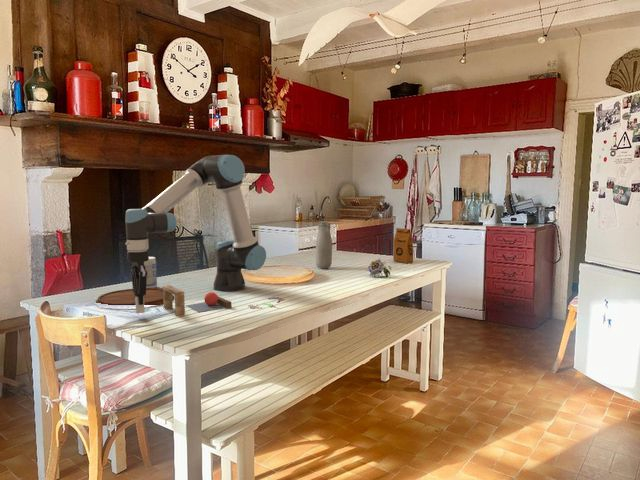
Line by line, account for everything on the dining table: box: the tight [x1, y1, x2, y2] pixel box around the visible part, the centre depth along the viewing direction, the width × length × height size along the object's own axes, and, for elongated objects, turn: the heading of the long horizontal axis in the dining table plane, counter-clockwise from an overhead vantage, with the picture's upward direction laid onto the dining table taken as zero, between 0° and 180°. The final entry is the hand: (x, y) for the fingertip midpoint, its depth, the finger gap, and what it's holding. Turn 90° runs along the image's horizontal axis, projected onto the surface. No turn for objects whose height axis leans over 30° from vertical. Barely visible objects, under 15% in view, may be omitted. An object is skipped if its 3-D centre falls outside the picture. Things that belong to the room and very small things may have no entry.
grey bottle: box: [315, 221, 333, 270], centre depth 288 cm, size 10×10×28 cm
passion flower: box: [365, 258, 392, 279], centre depth 266 cm, size 11×11×12 cm
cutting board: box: [94, 287, 175, 306], centre depth 210 cm, size 32×32×2 cm
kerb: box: [216, 296, 233, 310], centre depth 203 cm, size 2×16×2 cm, turn 38°
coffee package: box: [393, 227, 415, 264], centre depth 313 cm, size 10×12×22 cm
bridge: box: [162, 284, 186, 317], centre depth 191 cm, size 3×15×9 cm, turn 38°
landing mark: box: [185, 301, 226, 313], centre depth 200 cm, size 13×13×1 cm
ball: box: [204, 291, 219, 306], centre depth 201 cm, size 6×6×6 cm
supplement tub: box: [144, 256, 158, 288], centre depth 234 cm, size 10×10×15 cm
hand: (140, 312), depth 183 cm, fingers closed
